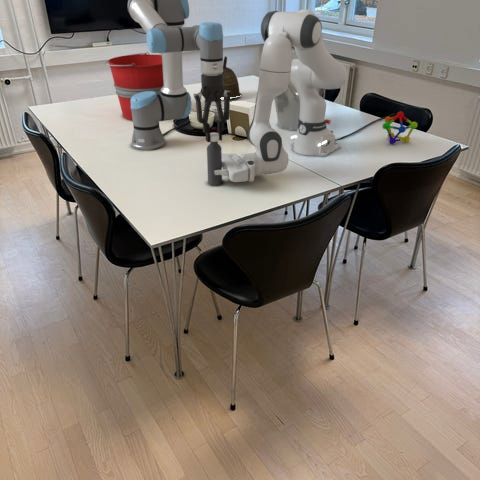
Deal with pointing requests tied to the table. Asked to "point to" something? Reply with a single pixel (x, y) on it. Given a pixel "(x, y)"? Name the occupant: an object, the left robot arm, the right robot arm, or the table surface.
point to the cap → (214, 137)
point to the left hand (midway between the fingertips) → (213, 140)
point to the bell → (230, 80)
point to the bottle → (214, 163)
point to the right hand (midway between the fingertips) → (212, 168)
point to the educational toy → (398, 128)
